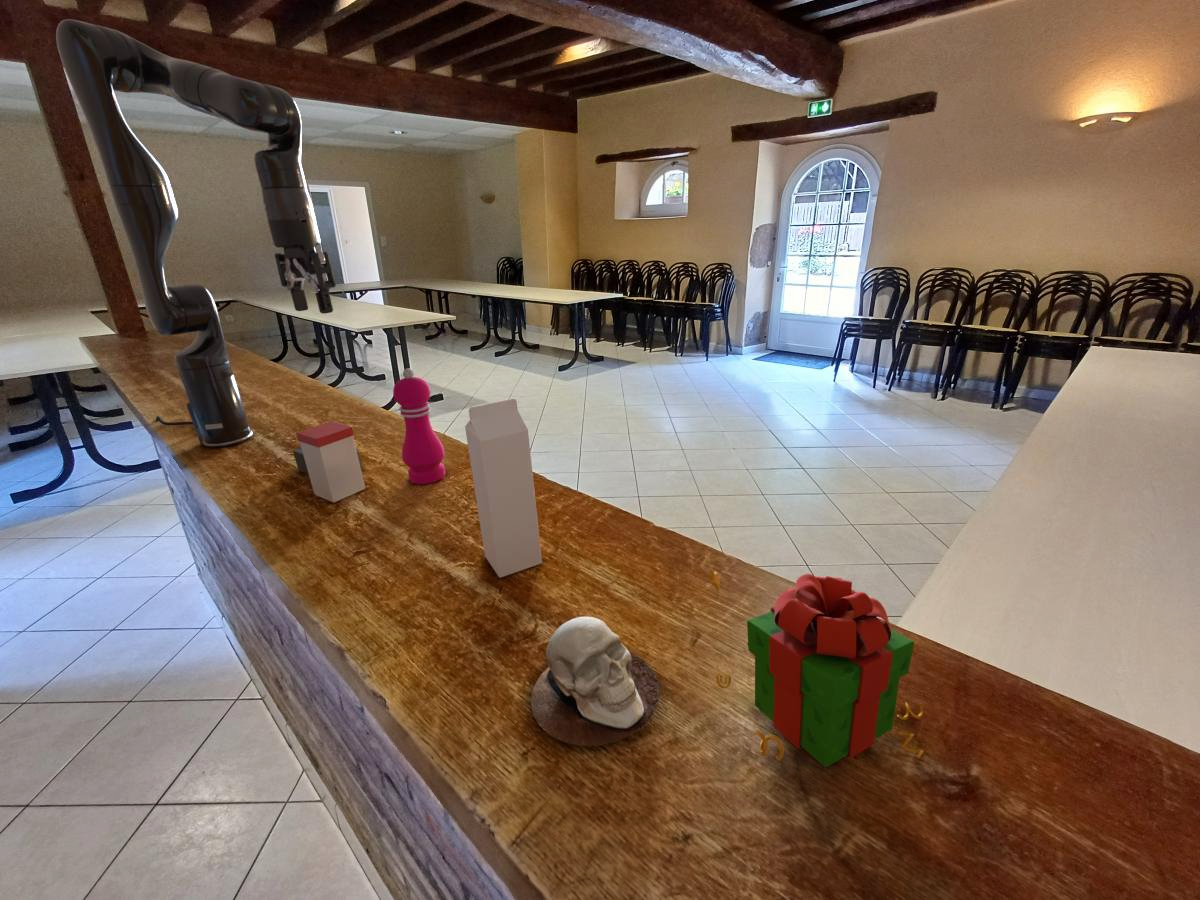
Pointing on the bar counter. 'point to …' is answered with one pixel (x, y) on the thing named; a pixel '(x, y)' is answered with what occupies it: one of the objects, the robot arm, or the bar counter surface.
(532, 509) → the milk
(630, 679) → the skull
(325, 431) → the container
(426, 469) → the pepper mill
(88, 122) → the robot arm
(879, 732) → the gift wrap
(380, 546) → the bar counter surface
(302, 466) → the block
